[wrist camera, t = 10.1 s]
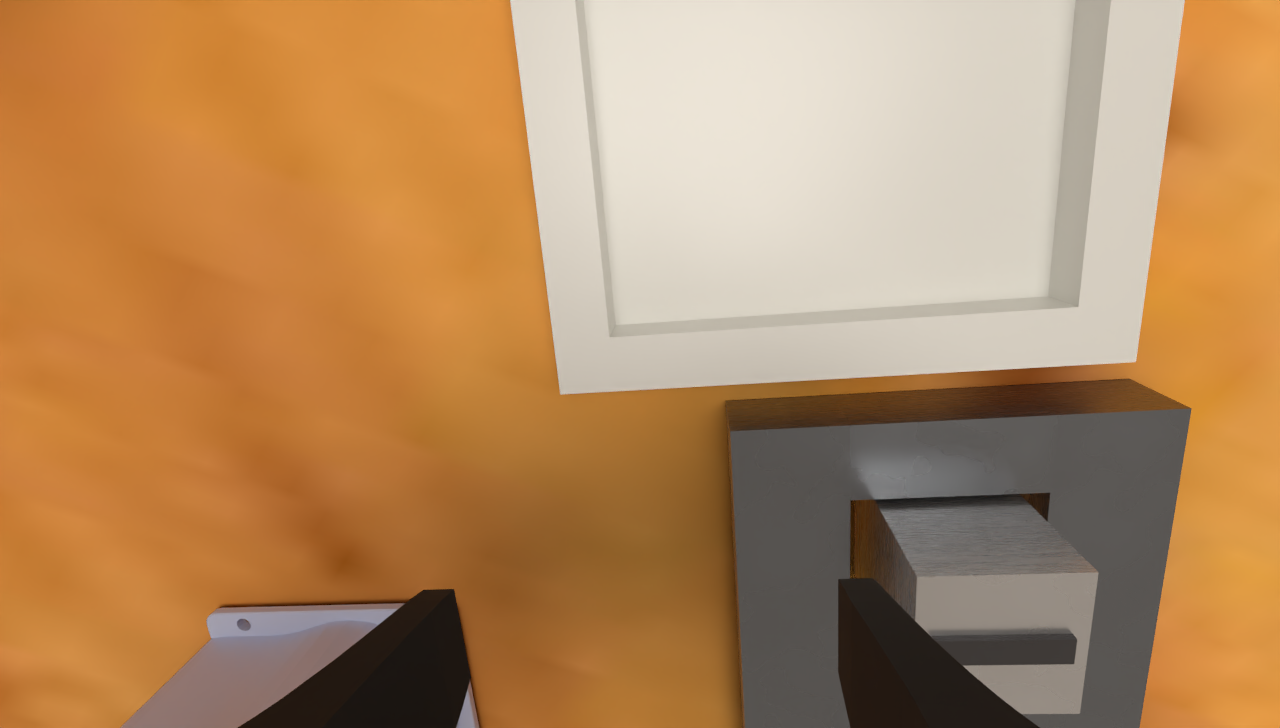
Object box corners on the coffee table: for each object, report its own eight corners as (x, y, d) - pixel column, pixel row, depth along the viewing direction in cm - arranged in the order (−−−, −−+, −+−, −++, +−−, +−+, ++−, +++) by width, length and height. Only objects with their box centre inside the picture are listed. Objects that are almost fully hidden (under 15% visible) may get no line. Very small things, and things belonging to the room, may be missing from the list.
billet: (854, 572, 22) (913, 721, 16) (855, 465, 21) (919, 582, 15) (977, 569, 22) (1084, 720, 16) (985, 460, 20) (1104, 577, 15)
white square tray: (572, 373, 21) (560, 394, 19) (501, -217, 16) (476, -269, 14) (1092, 342, 19) (1135, 362, 17) (1167, -318, 15) (1236, -391, 13)
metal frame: (749, 866, 26) (755, 937, 24) (725, 400, 21) (730, 431, 18) (1064, 871, 25) (1103, 946, 23) (1129, 379, 19) (1191, 408, 17)
